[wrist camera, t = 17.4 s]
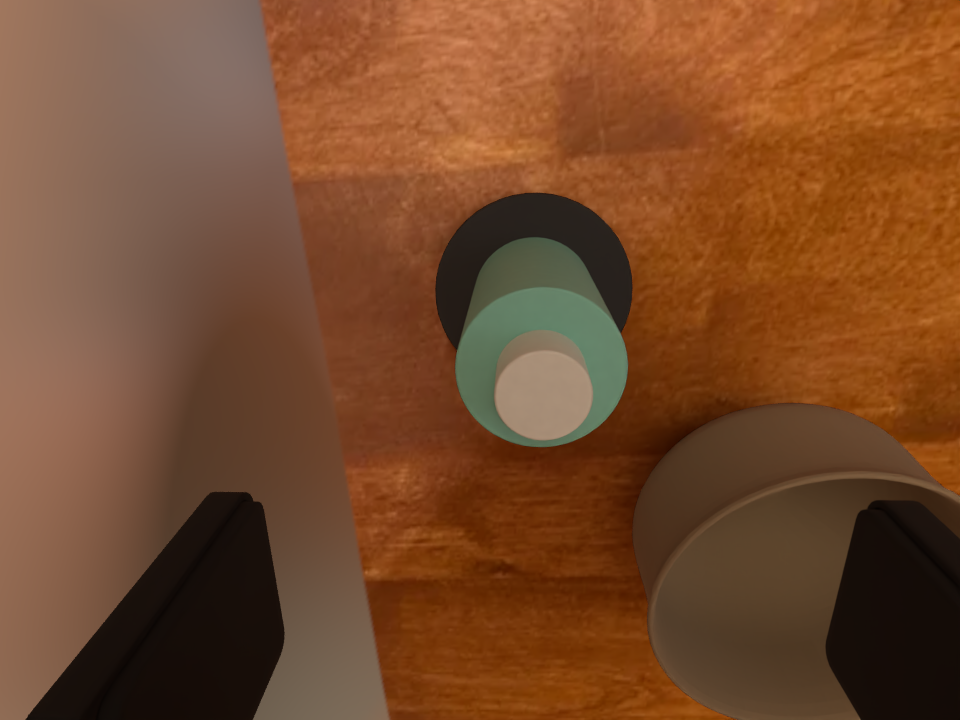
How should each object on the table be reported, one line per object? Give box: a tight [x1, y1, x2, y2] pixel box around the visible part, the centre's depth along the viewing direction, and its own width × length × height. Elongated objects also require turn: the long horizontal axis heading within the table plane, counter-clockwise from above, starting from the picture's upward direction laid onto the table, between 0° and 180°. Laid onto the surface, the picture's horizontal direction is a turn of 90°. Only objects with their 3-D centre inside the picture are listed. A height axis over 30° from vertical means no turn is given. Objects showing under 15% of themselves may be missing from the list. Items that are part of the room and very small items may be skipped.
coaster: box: [436, 193, 632, 350], centre depth 28 cm, size 9×9×1 cm
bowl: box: [632, 403, 960, 720], centre depth 26 cm, size 13×13×10 cm
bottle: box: [455, 237, 628, 447], centre depth 23 cm, size 5×5×12 cm
